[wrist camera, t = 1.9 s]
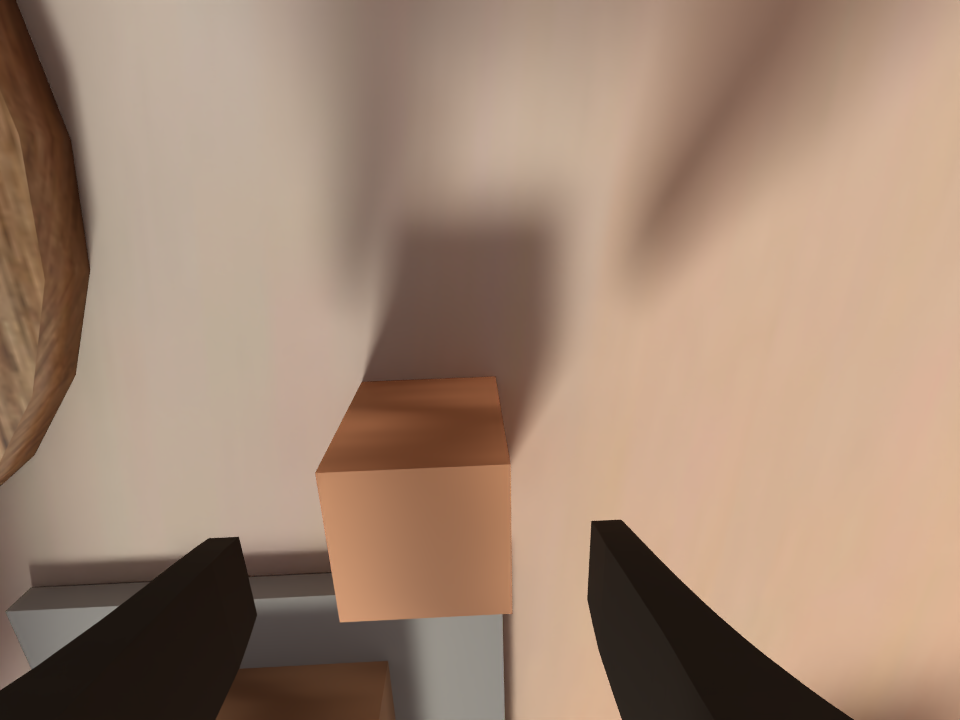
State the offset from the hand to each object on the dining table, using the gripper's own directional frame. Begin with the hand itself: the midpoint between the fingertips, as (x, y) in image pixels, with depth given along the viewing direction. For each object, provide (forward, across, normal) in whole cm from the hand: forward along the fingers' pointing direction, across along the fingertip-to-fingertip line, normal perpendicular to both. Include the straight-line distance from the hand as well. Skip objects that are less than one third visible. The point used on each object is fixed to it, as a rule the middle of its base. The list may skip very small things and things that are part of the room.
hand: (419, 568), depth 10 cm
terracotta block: (+6, 0, 0) cm, 6 cm away
